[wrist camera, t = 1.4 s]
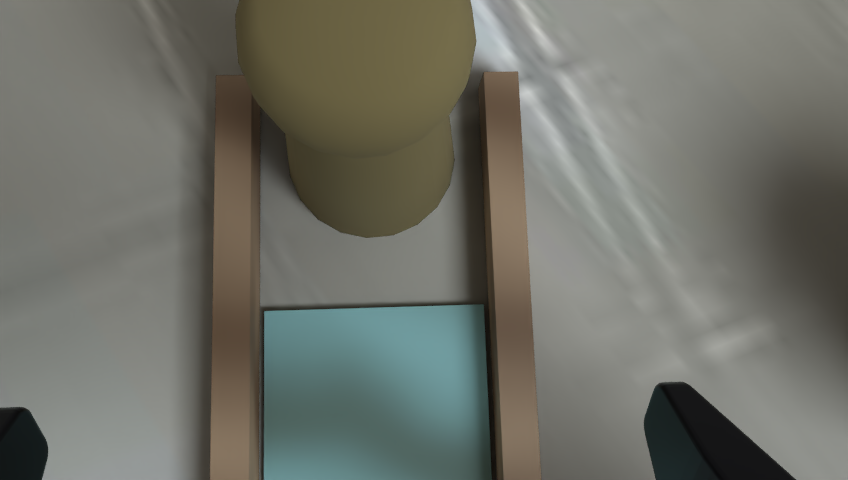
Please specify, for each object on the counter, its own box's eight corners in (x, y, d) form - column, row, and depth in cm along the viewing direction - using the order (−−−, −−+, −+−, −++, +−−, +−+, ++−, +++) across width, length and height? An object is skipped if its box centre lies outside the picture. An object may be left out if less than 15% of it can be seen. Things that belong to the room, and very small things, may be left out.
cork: (420, 262, 23) (444, 196, 12) (261, 202, 23) (142, 81, 12) (477, 110, 24) (548, -80, 13) (325, 53, 24) (267, -184, 13)
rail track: (542, 677, 21) (554, 703, 19) (219, 697, 20) (206, 726, 19) (510, 87, 24) (518, 71, 22) (227, 92, 23) (215, 75, 22)
